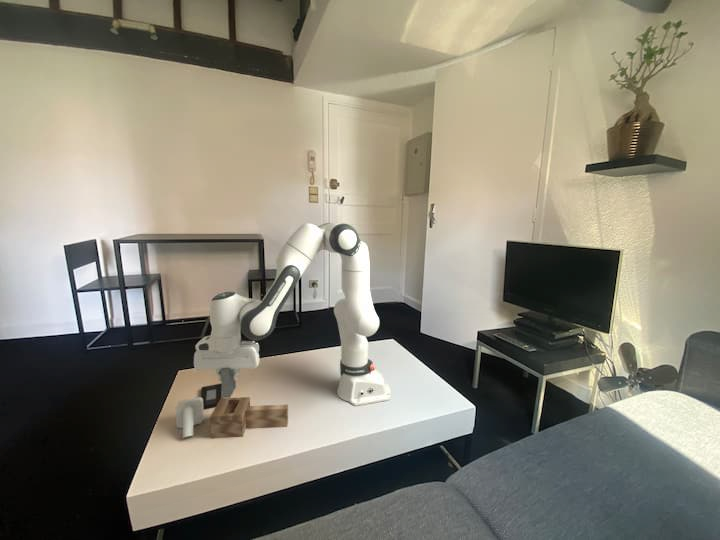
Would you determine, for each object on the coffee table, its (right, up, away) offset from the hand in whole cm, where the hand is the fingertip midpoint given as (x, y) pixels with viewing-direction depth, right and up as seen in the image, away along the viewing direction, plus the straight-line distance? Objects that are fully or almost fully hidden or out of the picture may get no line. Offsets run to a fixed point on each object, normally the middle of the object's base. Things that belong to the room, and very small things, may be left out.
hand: (228, 379), depth 100 cm
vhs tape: (-16, -15, +20) cm, 29 cm away
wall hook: (-14, -18, +2) cm, 23 cm away
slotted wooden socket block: (+7, -18, +4) cm, 19 cm away
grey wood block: (0, -5, +1) cm, 5 cm away
